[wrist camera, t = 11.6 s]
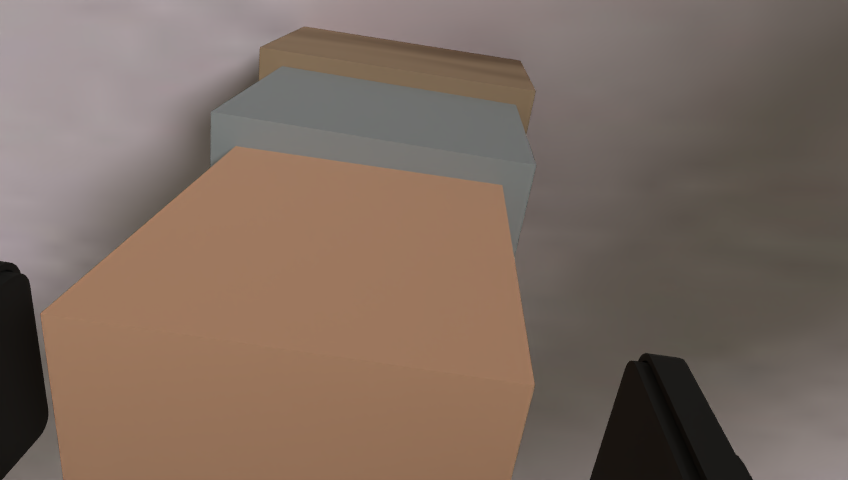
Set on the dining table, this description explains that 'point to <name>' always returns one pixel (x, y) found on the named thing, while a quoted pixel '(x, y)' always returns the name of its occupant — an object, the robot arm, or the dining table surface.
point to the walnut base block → (402, 66)
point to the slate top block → (382, 130)
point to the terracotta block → (298, 332)
